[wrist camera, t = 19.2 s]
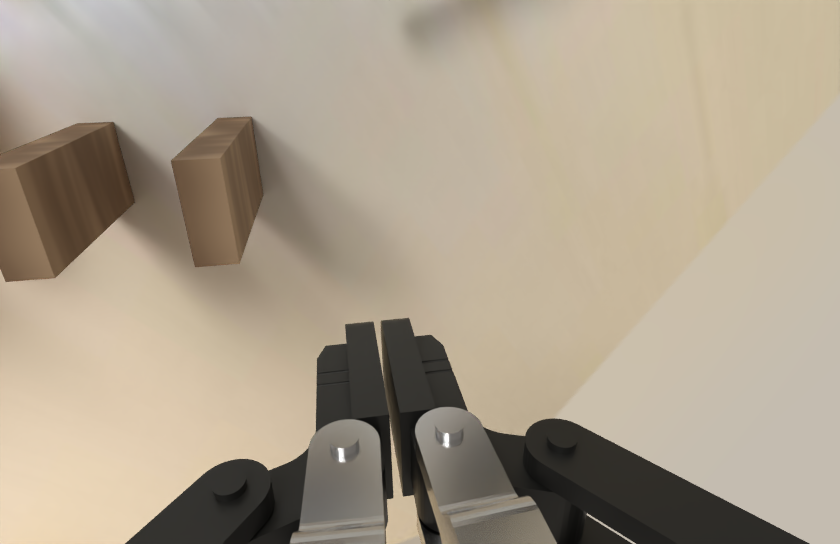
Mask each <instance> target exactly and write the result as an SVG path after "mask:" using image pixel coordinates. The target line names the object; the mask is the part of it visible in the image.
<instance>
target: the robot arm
mask: <svg viewBox="0 0 840 544" xmlns="http://www.w3.org/2000/svg"><path fill="white" fill-rule="evenodd" d="M345 328H346V341H347V344H339V345H330V346H325V348H324V349H323V351H322V352H321V354H320V355H319V357H318V358H317V399H316V433H315V435H314V436H313V437H312V439H311V441H310V444H309V448H308V449H307V450H306V451H305V452H304V453H303V454H302V455H300V456H299V457H298V458H296V459H294V460H293V461H291V462H289V463H286V464H284V465H282V466H279V467H277V468H274V469H272V470H269V471H268V470H267V468H266V467H265V466H264V465H263V464H261V463H259V462H257V461H254V460H249V459H236V460H231V461H227V462H224V463H221V464H219V465H217V466H215V467H213V468H212V469H210V470H208V471H207V472H206V473H205V474H203V475H202V476H201V477H200V478H199V479H198V480H197V481H195V482H194V483H193V484H192V485H191V486H190V487H189V488H188V489H186V490H185V491H184V492H183V493H182V494H181V495H180V496H178V497H177V498H176V499H175V500H174V501H173V502H172V503H171V504H169V505H168V506H167V507H166V508H165V509H164V510H163V511H162V512H160V513H159V514H158V515H157V516H156V517H155V518H154V519H152V520H151V521H150V522H149V523H148V524H147V525H146V526H145V527H143V528H142V529H141V530H140V531H139V532H138V533H137V534H136V535H134V536H133V537H132V538H131V539H130V540H129V541H128V542H127V543H125V544H386V531H385V529H386V526H387V522H388V512H387V499H391V498H393V481H392V461H391V440H390V423H391V429H392V435H393V441H394V446H395V452H396V458H397V464H398V470H399V476H400V482H401V487H402V493H403V496H410V495H414V497H415V503H416V508H417V528H418V533H419V537H420V540H421V544H632V543H630V542H628V541H627V540H625V539H624V538H622V537H621V536H619V535H617V534H616V533H614V532H613V531H611V530H609V529H608V528H606V527H604V526H603V525H601V524H600V523H598V522H596V521H595V520H593V519H592V518H590V517H589V516H587V515H586V514H587V513H588V514H590V515H591V516H593V517H594V518H596V519H598V520H599V521H601V522H603V523H604V524H606V525H607V526H609V527H611V528H612V529H614V530H615V531H617V532H619V533H621V534H622V535H623V536H625V537H627V538H628V539H630V540H631V541H633V542H635V543H636V544H809V543H807V542H805V541H803V540H801V539H799V538H797V537H795V536H793V535H791V534H790V533H787V532H786V531H784V530H782V529H780V528H778V527H776V526H774V525H772V524H770V523H768V522H766V521H764V520H762V519H760V518H758V517H756V516H755V515H753V514H751V513H749V512H747V511H745V510H743V509H741V508H739V507H737V506H735V505H733V504H731V503H729V502H727V501H725V500H723V499H721V498H720V497H717V496H715V495H714V494H712V493H710V492H708V491H706V490H704V489H702V488H700V487H698V486H696V485H694V484H692V483H690V482H688V481H687V480H685V479H682V478H681V477H679V476H677V475H675V474H673V473H671V472H669V471H667V470H665V469H663V468H661V467H659V466H657V465H655V464H653V463H651V462H650V461H647V460H645V459H644V458H642V457H640V456H638V455H636V454H634V453H632V452H630V451H628V450H626V449H624V448H622V447H620V446H618V445H616V444H615V443H613V442H611V441H609V440H607V439H604V438H603V437H601V436H599V435H597V434H595V433H593V432H591V431H589V430H587V429H585V428H583V427H581V426H580V425H578V424H575V423H573V422H570V421H567V420H562V419H545V420H541V421H538V422H536V423H534V424H533V425H532V426H530V428H529V429H528V430H527V432H526V436H518V435H510V434H503V433H497V432H494V431H491V430H489V429H486V428H484V427H483V426H482V424H481V422H480V421H479V419H478V418H477V417H476V416H474V415H473V414H472V413H470V412H468V410H467V408H466V405H465V402H464V400H463V397H462V394H461V392H460V389H459V386H458V384H457V381H456V378H455V376H454V373H453V372H452V368H451V365H450V362H449V361H448V357H447V354H446V352H445V349H444V346H443V345H442V344H441V343H440V342H439V341H438V340H436V339H435V338H434V337H433V336H432V335H425V336H414V333H413V330H412V326H411V323H410V320H409V318H403V319H393V320H383V321H381V340H382V359H383V375H382V369H381V363H380V358H379V352H378V346H377V340H376V334H375V328H374V323H373V322H364V323H354V324H345ZM383 376H384V381H383ZM384 386H385V387H384ZM389 417H390V420H389Z"/></svg>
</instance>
